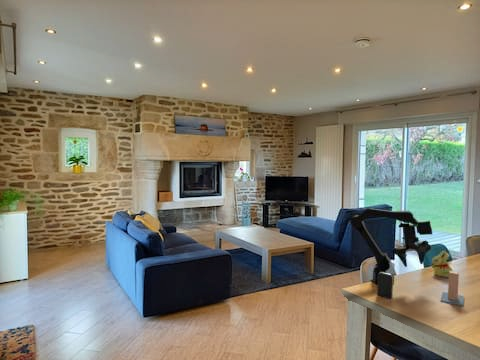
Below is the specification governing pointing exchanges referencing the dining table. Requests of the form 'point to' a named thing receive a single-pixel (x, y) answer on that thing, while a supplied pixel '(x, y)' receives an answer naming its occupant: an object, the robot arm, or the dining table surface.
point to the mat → (456, 302)
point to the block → (453, 285)
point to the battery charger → (385, 284)
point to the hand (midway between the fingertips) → (413, 265)
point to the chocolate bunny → (441, 264)
